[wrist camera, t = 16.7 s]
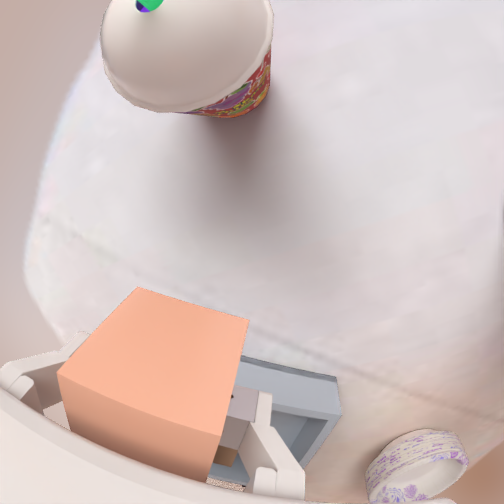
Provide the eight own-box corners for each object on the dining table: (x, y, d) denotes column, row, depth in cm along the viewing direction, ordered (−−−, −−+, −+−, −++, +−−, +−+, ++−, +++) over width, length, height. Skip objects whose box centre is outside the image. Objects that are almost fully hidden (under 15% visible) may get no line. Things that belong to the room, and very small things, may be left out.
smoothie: (197, 139, 26) (25, 143, 7) (175, 56, 24) (17, -36, 5) (291, 114, 25) (303, 30, 6) (265, 29, 22) (223, -138, 3)
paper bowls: (469, 409, 33) (488, 446, 26) (431, 466, 38) (441, 500, 31) (379, 419, 35) (390, 466, 27) (351, 475, 40) (354, 514, 32)
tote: (336, 376, 33) (341, 415, 27) (286, 459, 39) (284, 492, 33) (144, 325, 33) (121, 357, 27) (140, 420, 39) (126, 450, 33)
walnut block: (249, 402, 34) (242, 441, 28) (238, 431, 36) (231, 467, 30) (207, 391, 34) (195, 429, 28) (200, 421, 36) (189, 456, 30)
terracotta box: (249, 319, 12) (221, 436, 6) (226, 399, 13) (198, 501, 8) (137, 286, 12) (56, 372, 7) (133, 369, 13) (78, 455, 8)
